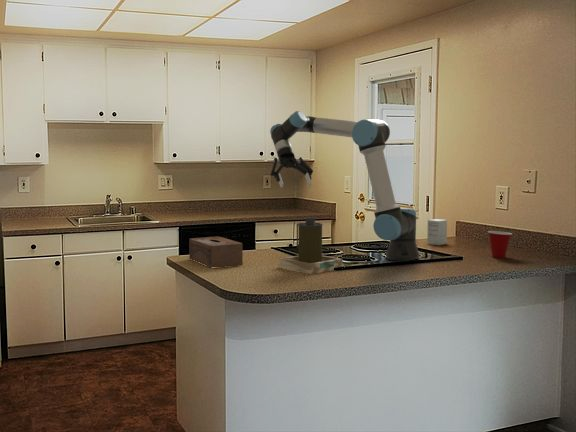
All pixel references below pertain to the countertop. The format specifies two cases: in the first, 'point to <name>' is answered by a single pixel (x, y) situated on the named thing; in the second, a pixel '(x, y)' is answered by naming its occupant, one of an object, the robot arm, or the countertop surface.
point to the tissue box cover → (216, 251)
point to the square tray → (310, 264)
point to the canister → (310, 241)
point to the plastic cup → (499, 243)
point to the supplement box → (437, 232)
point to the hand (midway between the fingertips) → (296, 185)
